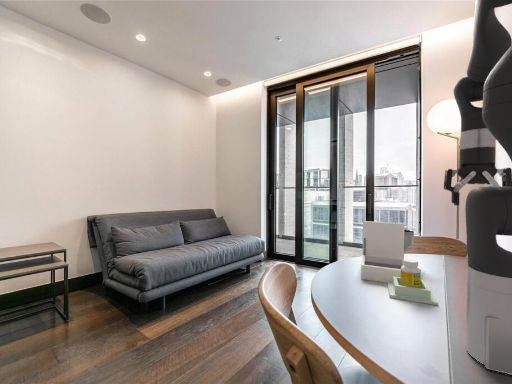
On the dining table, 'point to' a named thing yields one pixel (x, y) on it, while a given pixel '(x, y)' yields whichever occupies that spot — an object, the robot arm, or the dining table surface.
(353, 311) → the dining table surface
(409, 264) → the supplement bottle
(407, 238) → the wine glass
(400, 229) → the case
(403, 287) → the sage holder
